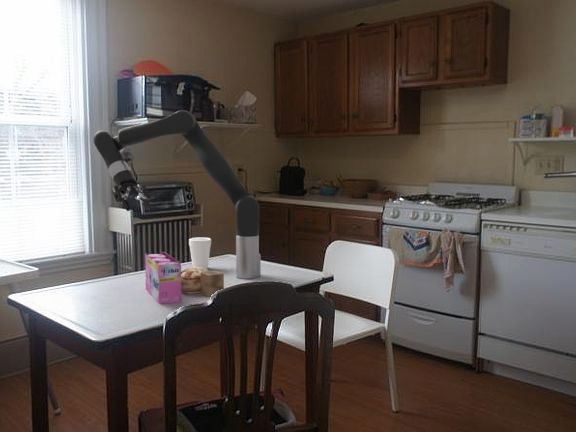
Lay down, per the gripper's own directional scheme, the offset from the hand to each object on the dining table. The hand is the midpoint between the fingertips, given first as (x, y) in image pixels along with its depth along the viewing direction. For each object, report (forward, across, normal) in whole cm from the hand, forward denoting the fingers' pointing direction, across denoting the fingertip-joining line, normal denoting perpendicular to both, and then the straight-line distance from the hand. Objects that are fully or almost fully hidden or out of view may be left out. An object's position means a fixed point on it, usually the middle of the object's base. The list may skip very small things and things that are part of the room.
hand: (139, 209), depth 201 cm
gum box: (+33, -1, +8) cm, 34 cm away
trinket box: (+34, +12, +6) cm, 36 cm away
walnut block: (+41, +10, -3) cm, 42 cm away
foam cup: (+17, +38, +23) cm, 48 cm away
